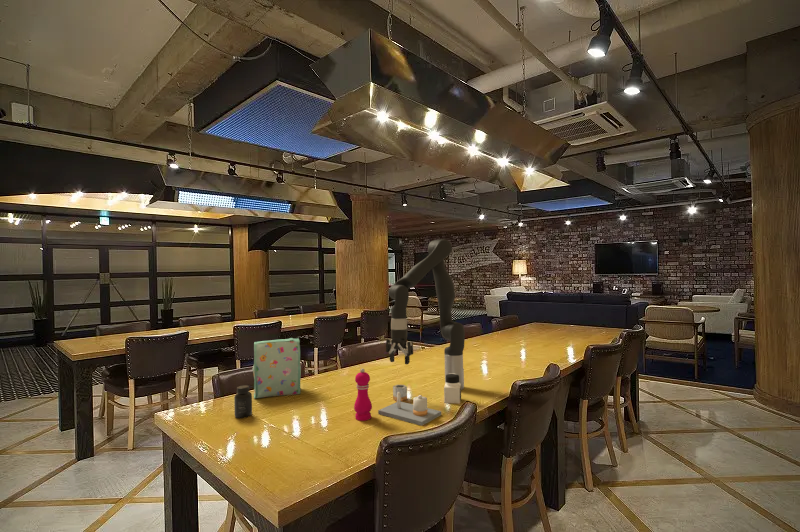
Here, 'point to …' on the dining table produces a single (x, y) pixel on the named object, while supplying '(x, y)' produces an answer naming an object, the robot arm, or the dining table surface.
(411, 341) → the robot arm
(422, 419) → the pin board
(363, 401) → the pepper mill
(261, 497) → the dining table surface
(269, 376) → the lunch bag
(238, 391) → the supplement bottle
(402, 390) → the sleeve
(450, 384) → the medicine bottle
